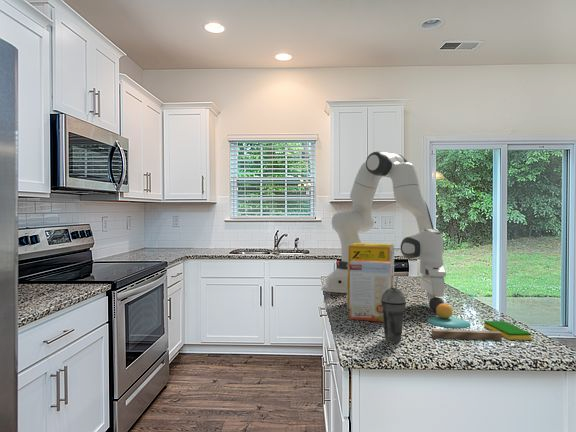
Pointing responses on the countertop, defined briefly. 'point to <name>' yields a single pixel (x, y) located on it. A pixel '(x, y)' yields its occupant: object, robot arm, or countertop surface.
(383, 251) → the packaging box
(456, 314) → the countertop surface
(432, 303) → the dark gray ball
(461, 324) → the teal mark
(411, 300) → the countertop surface
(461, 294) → the countertop surface
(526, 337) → the dish sponge
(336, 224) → the robot arm
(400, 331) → the beverage cup
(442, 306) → the orange ball
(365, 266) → the cracker box
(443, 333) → the brown wooden bar
